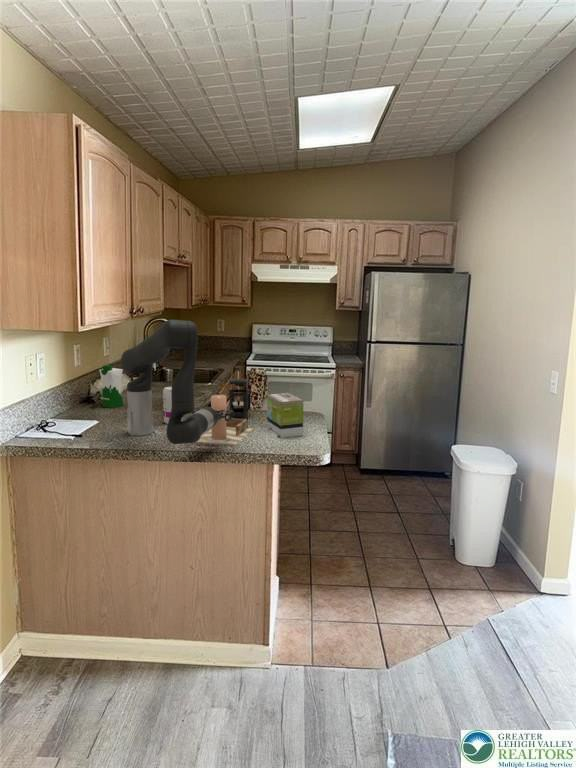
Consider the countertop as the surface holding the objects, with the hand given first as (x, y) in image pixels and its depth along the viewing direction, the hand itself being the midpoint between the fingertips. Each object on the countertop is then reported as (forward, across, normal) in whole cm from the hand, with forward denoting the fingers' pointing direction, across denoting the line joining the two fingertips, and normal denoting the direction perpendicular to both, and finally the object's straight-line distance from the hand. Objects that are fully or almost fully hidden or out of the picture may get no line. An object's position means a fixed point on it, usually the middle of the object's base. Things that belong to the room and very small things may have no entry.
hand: (219, 410), depth 200 cm
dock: (+6, 0, +12) cm, 13 cm away
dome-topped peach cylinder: (+1, 0, +11) cm, 11 cm away
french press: (+38, +5, +12) cm, 40 cm away
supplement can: (+22, +29, +12) cm, 38 cm away
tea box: (+18, -21, +12) cm, 30 cm away
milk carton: (+43, +70, +12) cm, 83 cm away
